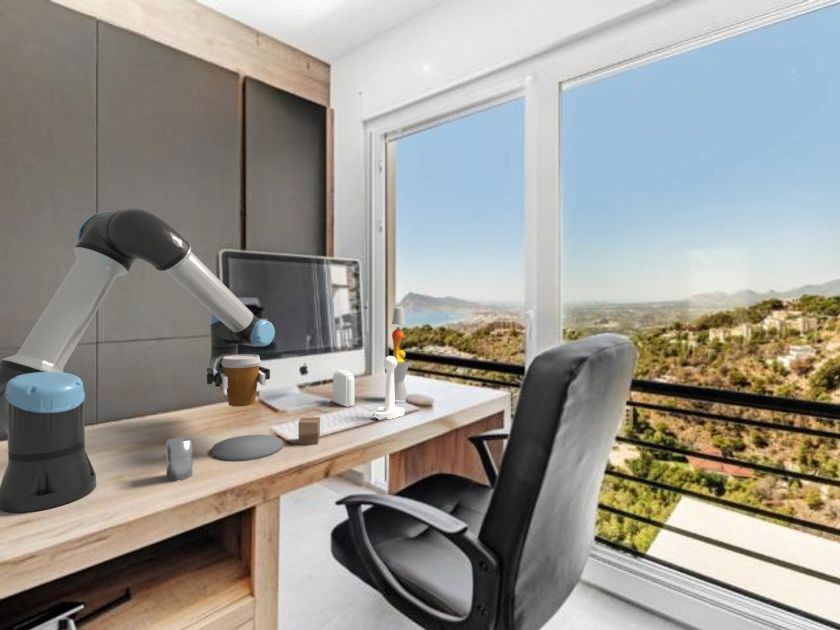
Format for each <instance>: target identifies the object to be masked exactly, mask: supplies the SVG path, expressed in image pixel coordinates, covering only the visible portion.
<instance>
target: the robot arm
mask: <svg viewBox="0 0 840 630" xmlns="http://www.w3.org/2000/svg"><path fill="white" fill-rule="evenodd" d="M77 240H78V242H77V244H76V246H75V247H74V248H73V253H74V255H75V257H76V260H75V262H74V263H73V265H72V266H71V268H70V270H69V271H68V273H67V274H66V276H65V278H64V279H63V280H62V282H61V284H60V286H59V287H58V289H57V290H56V292H55V293H54V295H53V297H52V298H51V300H50V301H49V303H48V304H47V306H46V307H45V309H44V311H43V312H42V314H41V315H40V317H39V319H38V320H37V321H36V323H35V325H34V326H33V327H32V329H31V331H30V333H29V334H28V336H27V337H26V338H25V341H24V342H23V343H22V345H21V346H20V348H19V350H18V351H17V353H16V354H14V355H10V356H8V357H7V356H6V357H4V358H2V360H1V362H0V432H1V433H4V434H6V435H7V453H8V454H7V456H8V457H7V458H8V460H7V461H8V463H7V466H6V468H5V470H4V473H3V476H2V479H1V482H0V510H1V511H4V512H9V513H27V512H34V511H40V510H41V511H42V510H46V509H51V508H55V506H56V507H58V506H63V505H66V504H68V503H72V502H74V501H77V500H79V499H81V498H83V497H85V496H87V495H89V494H91V492H93V491H95V489H96V487H97V475H96V472H95V470H94V467H93V465H92V462H91V460H90V458H89V455H88V454H87V451H86V444H85V443H86V441H85V430H86V429H85V397H86V394H85V390H84V382H83V381H82V379H81V378H80V377H79V376H77V375H75V374H73V373H68V372H65V371H64V368H65V366H66V364H67V363H68V361H69V360H70V357H71V355H72V354H73V353H74V351H75V348H76V347H77V345H78V343H80V342H79V341H80V340H81V339H82V337H83V336H84V334H85V332H86V330H87V328H88V327H89V325H90V323H91V322H92V320H93V318H94V316H95V315H96V313H97V311H98V310H99V308H100V306H101V304H102V303H103V301H104V300H105V298H106V296H107V294H108V293H109V291H110V289H111V288H112V285H113V284H114V282H115V281H116V279H117V278H118V277H123V276H126V275H127V274H129V271H130V270H131V268H132V266H133V264H134V263H135V260H142V261H144V262H146V263H148V264H149V265H151V266H152V267H154V268H155V269H156V270H157V271H158V272H160V273H161V272H163V273H165V272H166V273H167V274H168V275H169V276H170V277H171V278H172V279H174V280H175V281H176V282H177V283H178V284H179V285H180V286H181V287H182V288H184V289H185V291H187V292H188V293H189V294H191V296H193V297H194V299H196V300H197V301H198V302H199V303H200V304H201V305H203V306H204V308H205V309H207V310H208V311H209V312H210V313H211V315H210V324H209V328H210V345H211V346H210V357H209V366H210V367H208V368H206V384H207V385H212V384H213V383H214V387H215V388H217V387H221V386H222V388H223V389H224V390H226V389H228V377H227V376H226V375H224V369H223V366H222V364H221V362H222V360H223V357H225V356H230V355H239V354H238V351H239V350H238V347H239V345H243V346H251V347H255V348H256V347H266V346H268V345H270V344H271V343H272V341H273V340H274V338H275V334H276V331H275V326H274V325H273V323H272V322H270V321H268V320H265V319H259V318H258V317H257V316H256V315H255V314H254V313H253V312H252V311H251V310H250V309H249V308H248V307H247V306H246V305H245V304H244V303H243V302H242V301H241V300H240V299H239V298H238V296H236V295H235V294H234V293H233V292H232V291H231V290H230V289H229V288H228V287H227V285H225V284H224V283H223V281H221V280H220V279H219V278H218V277H217V276H216V275H215V274H214V273H213V272H212V271H211V269H209V268H208V267H207V266H206V265H205V264H204V263H203V262H202V261H201V260H200V258H198V257H197V256H196V255H195V254H194V253H193V252H192V246H191V243H189V242H188V240H186V238H185V237H183V235H181V234H180V233H179V232H178V231H177V230H176V229H175V228H174V227H172V226H171V224H169V223H168V222H166V221H165V220H163V219H162V218H161V217H159V216H158V215H156V214H154V213H152V212H150V211H149V210H148V211H147V210H144V209H140V208H125V209H121V210H113V211H110V210H108V211H100V212H98V213H95V214H93V215H90V216H89V217H87V218H86V219H85V220H83V221H82V222H81V224H80V225H79V227H78V230H77ZM270 379H271V369H270V368H266V367H263V366H260V365H259V373H258V381H257V383H259V384H260V385H261V386H266V381H267V380H270Z"/></svg>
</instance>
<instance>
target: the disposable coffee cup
mask: <svg viewBox="0 0 840 630" xmlns="http://www.w3.org/2000/svg"><path fill="white" fill-rule="evenodd" d="M261 363H262V360H261V359H260V355H259V354H250V353H249V354H244V353H243V354H238V355H230V356H225V357H223V360H222V362H221V364H222V366H223V369H224V375H226V376H227V377H228V389H225V390H226V395H227V396H226V397H227V402H228V403H227V404H228V406H230V407H236V408H237V407H247V406H251V405H254V404H255V403H256V398H257V397H256V396H257V389H258V382H257V381H258V373H259V366H260V365H261Z"/></svg>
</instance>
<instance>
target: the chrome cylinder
mask: <svg viewBox="0 0 840 630" xmlns="http://www.w3.org/2000/svg"><path fill="white" fill-rule="evenodd" d="M165 447H166V448H165V455H166V456H165V458H166V459H165V460H166V461H165V462H166V465H165V466H166V467H165V468H166V471H165V472H166V480H167V481H169V480H170V482H178V481H177V480H181V481H184V480H183V479H185V480H188V479H190V478H192V477H193V438H192V437H190V436H177V437H173V438H169V439H167V440H166V441H165ZM189 477H190V478H189ZM187 478H188V479H187Z"/></svg>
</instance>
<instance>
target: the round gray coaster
mask: <svg viewBox="0 0 840 630" xmlns="http://www.w3.org/2000/svg"><path fill="white" fill-rule="evenodd" d="M283 442H284V441H283V440H282V438H279V437H277V436H274V435H270V434H248V435H247V434H246V435H239V436H234V437H230V438H227V439H224V440H221V441H218V442H217V443H215V444H214V445H213V446H212V447H211V455H212V456H213V457H214V458H216V459H219V460H222V461H230V462H243V461H244V462H245V461H251V460H253V459H254V460H259V459H263V457H264V458H266V456H267V457H270V456H273V455H275V454H277V453H278V451H279V452H280V451H281V450H283V447H284V443H283ZM274 453H275V454H274ZM272 454H273V455H272ZM269 455H270V456H269Z"/></svg>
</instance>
